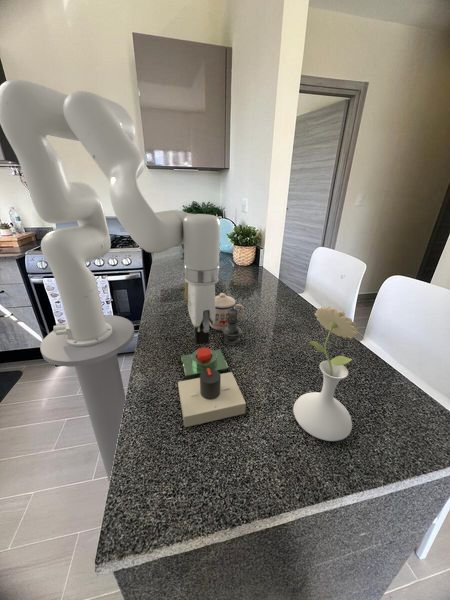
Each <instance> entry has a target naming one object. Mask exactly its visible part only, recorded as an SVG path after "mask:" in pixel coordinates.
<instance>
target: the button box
mask: <svg viewBox="0 0 450 600" xmlns="http://www.w3.org/2000/svg"><path fill="white" fill-rule="evenodd" d="M209 349H210V350H211V359H210V360H208V361H199V360H198V359H197V350H198V349H197V350H194V351H193V352H192V353H188V354H184V355H183V354H182V355H181V356H180V358H181V366H182V371H183V376H184V381H185V380H191V379H196V378H200V374H201V373H202V372H203V371H204V370H207V368H210V369H214V370H217V371H218V372H219V373H220V374H223V373H229V369H230V368H229V365H228V363H227V361H226V359H225V356H224V354H223V351H222V350H221V349H214V350H213V349H211V348H209Z"/></svg>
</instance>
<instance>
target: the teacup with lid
mask: <svg viewBox="0 0 450 600" xmlns="http://www.w3.org/2000/svg"><path fill="white" fill-rule="evenodd" d="M233 306H234V308H235V309H236V308H240V312H239V313H238V317H237V318H238V319H239V318H240V317H241V316H242V315H243V314H244V311H245V309H244V306H243V305H242V304H240V303H237V301H236V299H235V298H234V297H232V296H230V295H226V293H225V292H220V293H219V295H215V323H214V324H213V325H211V323H210V322H209V327H211V328H212V329H213V330H216V331H221V332H223V329H224V328H225V327H227V325H228V321H227V318H228V310H229V309H231V308H232V307H233Z"/></svg>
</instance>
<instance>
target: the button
mask: <svg viewBox="0 0 450 600" xmlns="http://www.w3.org/2000/svg"><path fill="white" fill-rule="evenodd" d="M210 349H211V348H209V347H200V348H198V349H197V359H198V360H199V361H208V360H210V359H211V350H212V349H211V350H210Z"/></svg>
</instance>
